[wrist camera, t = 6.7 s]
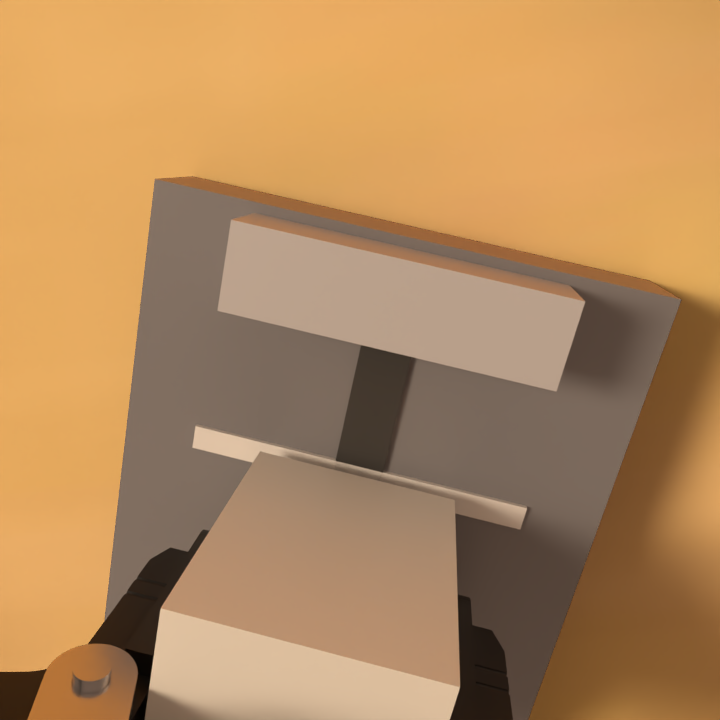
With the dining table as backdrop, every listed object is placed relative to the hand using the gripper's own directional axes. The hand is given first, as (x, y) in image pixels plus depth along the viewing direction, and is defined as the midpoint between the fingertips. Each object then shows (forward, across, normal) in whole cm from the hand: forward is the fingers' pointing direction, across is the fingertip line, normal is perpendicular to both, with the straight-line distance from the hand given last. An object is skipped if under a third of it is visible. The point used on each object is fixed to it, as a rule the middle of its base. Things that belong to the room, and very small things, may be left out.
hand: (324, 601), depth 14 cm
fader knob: (+1, 0, 0) cm, 1 cm away
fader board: (+3, 0, +6) cm, 7 cm away
